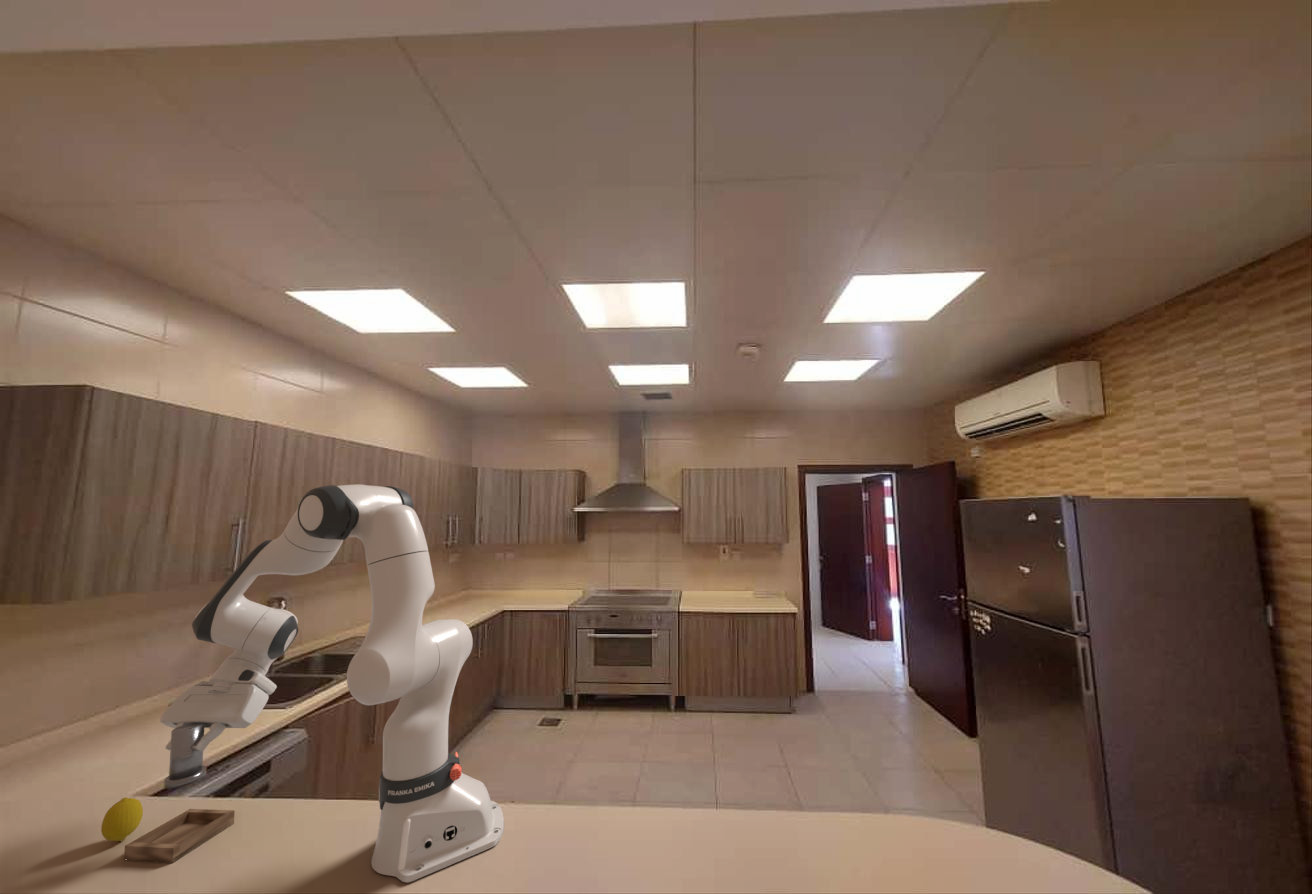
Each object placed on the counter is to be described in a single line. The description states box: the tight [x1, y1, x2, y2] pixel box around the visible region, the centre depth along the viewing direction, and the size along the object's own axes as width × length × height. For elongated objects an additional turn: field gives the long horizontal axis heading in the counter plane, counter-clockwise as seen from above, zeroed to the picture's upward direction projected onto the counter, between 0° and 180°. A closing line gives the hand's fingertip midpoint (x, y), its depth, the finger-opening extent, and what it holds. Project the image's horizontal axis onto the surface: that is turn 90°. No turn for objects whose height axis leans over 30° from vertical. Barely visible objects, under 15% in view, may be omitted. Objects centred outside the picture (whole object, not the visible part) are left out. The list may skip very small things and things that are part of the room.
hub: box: [163, 723, 207, 790], centre depth 96 cm, size 6×6×10 cm
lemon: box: [100, 797, 144, 842], centre depth 95 cm, size 6×6×8 cm
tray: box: [123, 808, 235, 864], centre depth 94 cm, size 11×11×2 cm
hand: (183, 750), depth 95 cm, fingers closed on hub, 5 cm apart
